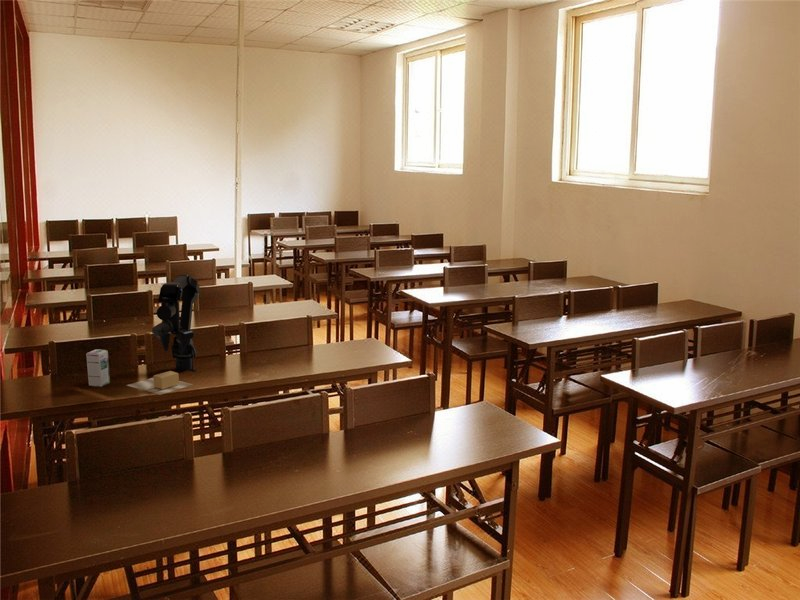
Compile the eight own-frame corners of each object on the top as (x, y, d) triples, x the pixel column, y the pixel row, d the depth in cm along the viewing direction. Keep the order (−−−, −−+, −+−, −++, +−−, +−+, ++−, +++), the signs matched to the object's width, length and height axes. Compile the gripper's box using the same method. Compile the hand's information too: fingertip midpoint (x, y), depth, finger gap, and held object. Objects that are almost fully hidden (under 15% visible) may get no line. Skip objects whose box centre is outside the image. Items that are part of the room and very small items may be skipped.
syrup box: (101, 389, 278) (99, 353, 276) (88, 388, 280) (85, 352, 277) (110, 385, 284) (108, 349, 281) (97, 384, 285) (94, 348, 282)
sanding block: (170, 383, 284) (170, 370, 283) (178, 385, 281) (178, 373, 280) (153, 387, 277) (153, 375, 277) (162, 390, 275) (161, 377, 274)
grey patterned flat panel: (159, 378, 294) (159, 375, 293) (193, 387, 283) (193, 384, 283) (126, 388, 281) (126, 385, 280) (160, 397, 270) (159, 394, 270)
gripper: (140, 315, 283) (141, 353, 286) (171, 321, 273) (173, 360, 276) (163, 310, 293) (164, 347, 296) (194, 316, 283) (195, 354, 286)
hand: (173, 352), depth 288 cm, fingers open, 9 cm apart
